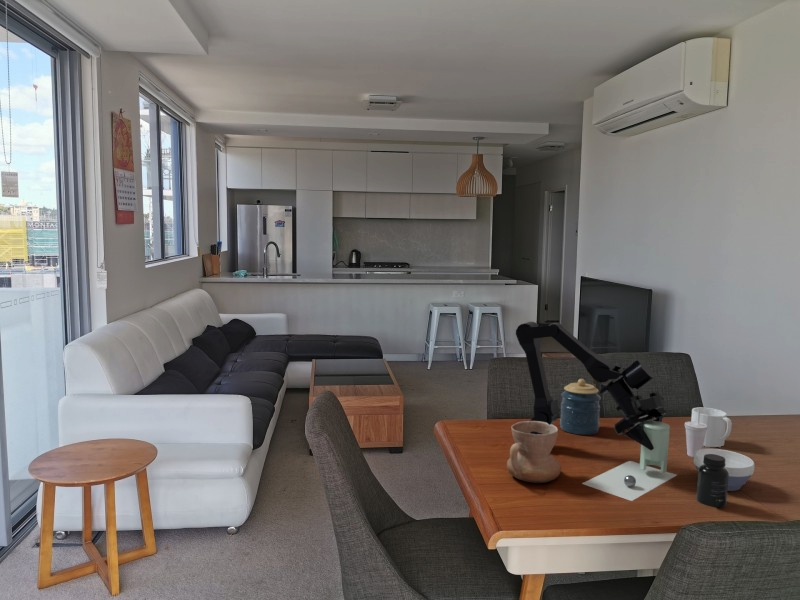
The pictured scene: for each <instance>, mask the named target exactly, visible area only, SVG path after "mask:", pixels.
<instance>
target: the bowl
mask: <svg viewBox="0 0 800 600" xmlns="http://www.w3.org/2000/svg"><path fill="white" fill-rule="evenodd" d="M706 454H715V455H719V456H722V457H724V458H725V467H724V468H725V469H726V470H727V471H728V473H729V479H728V491H727V492H734V491H738V490H740V489H741V488H742V486H744V485H746V483H747V482H748V480H749V479H750V478H751V477H752V475H753V474H754V472H755V461H754V460H753V459H751V458H750V457H749V456H747V455H744V454H741V453H739V452H735V451H732V450H727V449H719V448H702V449H700V450H697V451H696V452H695V453H694V457H693V464H694V466H695V468H696V470H697V471H698V469H699V467H700V466H701V465H703V464H704V463H703V460H704V455H706Z"/></svg>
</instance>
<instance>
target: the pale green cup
mask: <svg viewBox="0 0 800 600" xmlns="http://www.w3.org/2000/svg"><path fill="white" fill-rule="evenodd" d="M644 431H645V433H646V435H647V436H648V438H649V440H650V441H651V443H652V445H653V447H654V449H653V450H649V449H648V448H646V447H645V446H643V445H641V444H640V455H639V457H640V459H639V464H640V468H641V469H642V470H646V466H656V467H659V468H660V470H661V473H664V472H668V471H667V470H668V469H667V466H668V454H669V444H670V443H669V442H670V431H671V426H670V425H669V424H668V423H666V422H658V421H644Z"/></svg>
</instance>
